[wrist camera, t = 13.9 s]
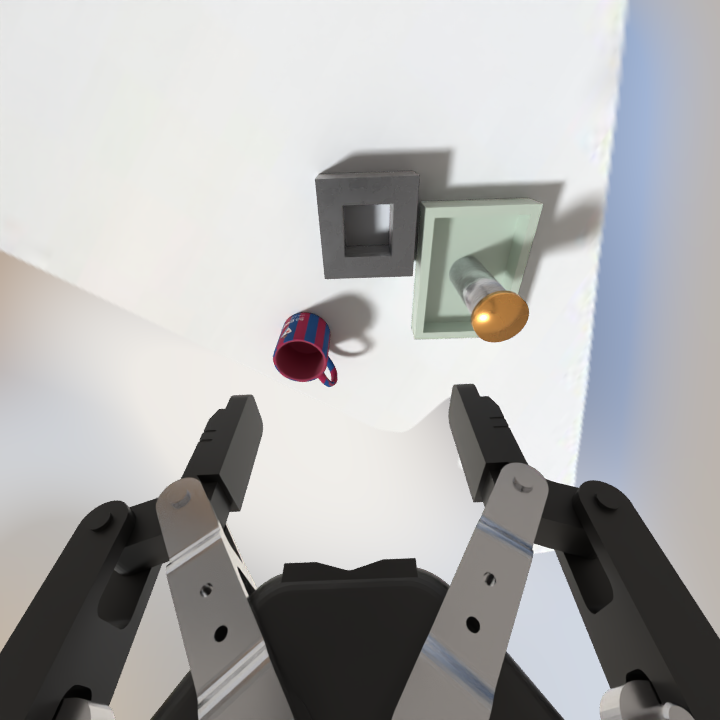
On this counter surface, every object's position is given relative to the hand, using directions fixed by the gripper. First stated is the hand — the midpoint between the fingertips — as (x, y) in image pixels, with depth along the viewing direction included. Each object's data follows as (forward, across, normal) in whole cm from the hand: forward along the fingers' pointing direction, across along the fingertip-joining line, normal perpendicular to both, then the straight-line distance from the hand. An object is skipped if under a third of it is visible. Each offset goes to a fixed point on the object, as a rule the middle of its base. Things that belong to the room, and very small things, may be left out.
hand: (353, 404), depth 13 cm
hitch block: (+30, -2, +1) cm, 30 cm away
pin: (+28, -13, +7) cm, 32 cm away
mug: (+29, +7, +16) cm, 34 cm away
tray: (+29, -13, +7) cm, 33 cm away
